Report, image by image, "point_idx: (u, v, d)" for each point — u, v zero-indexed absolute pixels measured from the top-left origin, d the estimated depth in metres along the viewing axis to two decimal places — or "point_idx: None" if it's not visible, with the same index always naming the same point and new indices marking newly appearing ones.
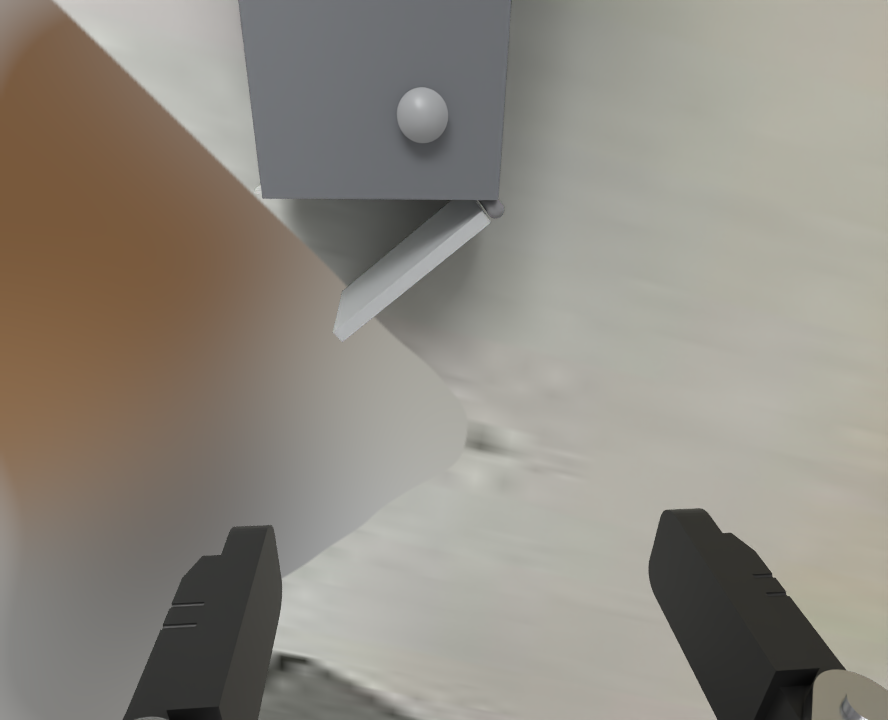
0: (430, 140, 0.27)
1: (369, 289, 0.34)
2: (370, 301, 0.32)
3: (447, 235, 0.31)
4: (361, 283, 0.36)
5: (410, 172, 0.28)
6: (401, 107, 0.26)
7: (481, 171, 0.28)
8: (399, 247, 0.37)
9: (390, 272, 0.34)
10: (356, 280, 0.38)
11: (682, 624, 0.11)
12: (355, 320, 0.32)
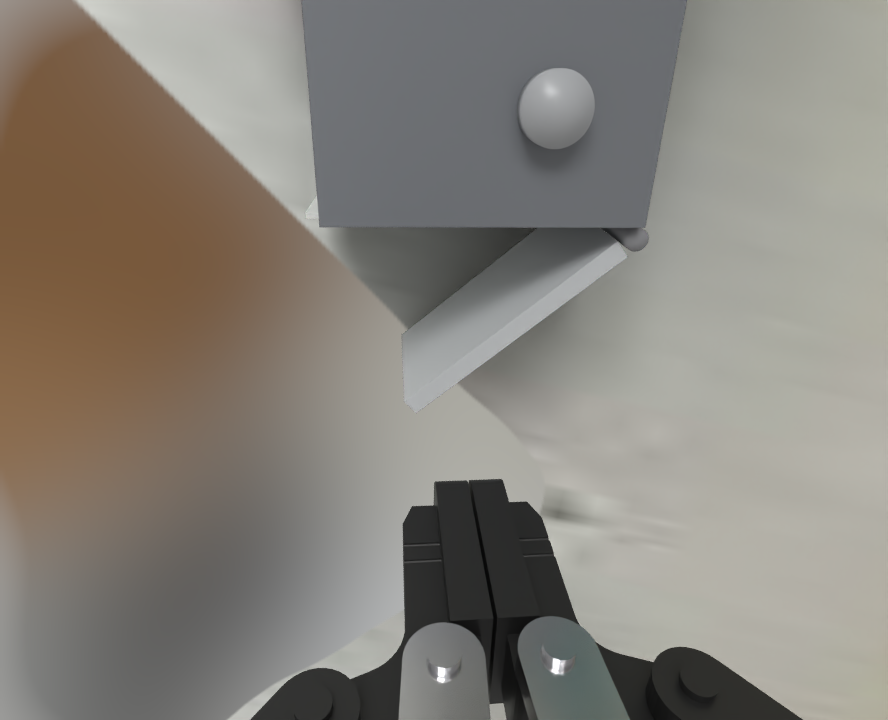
0: (565, 145, 0.19)
1: (448, 340, 0.26)
2: (457, 361, 0.24)
3: (564, 273, 0.23)
4: (430, 328, 0.28)
5: (528, 190, 0.20)
6: (528, 97, 0.18)
7: (626, 188, 0.20)
8: (479, 281, 0.28)
9: (477, 318, 0.25)
10: (420, 322, 0.30)
11: None
12: (435, 385, 0.24)
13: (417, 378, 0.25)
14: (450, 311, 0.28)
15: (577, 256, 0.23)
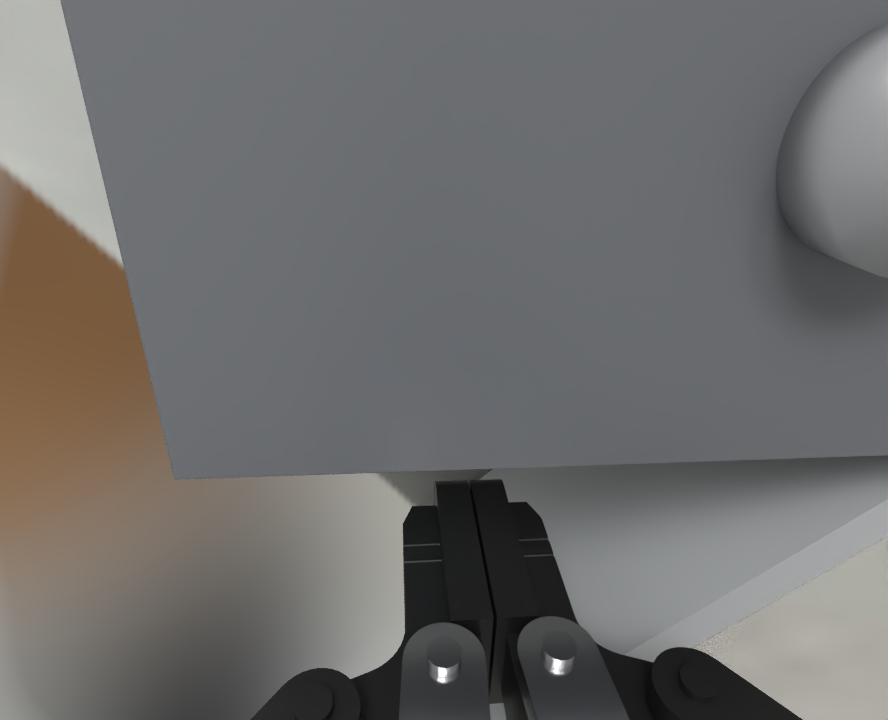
0: None
1: None
2: None
3: (786, 520, 0.10)
4: None
5: (769, 373, 0.07)
6: (869, 114, 0.05)
7: None
8: None
9: (566, 568, 0.12)
10: None
11: None
12: None
13: None
14: None
15: (808, 472, 0.10)
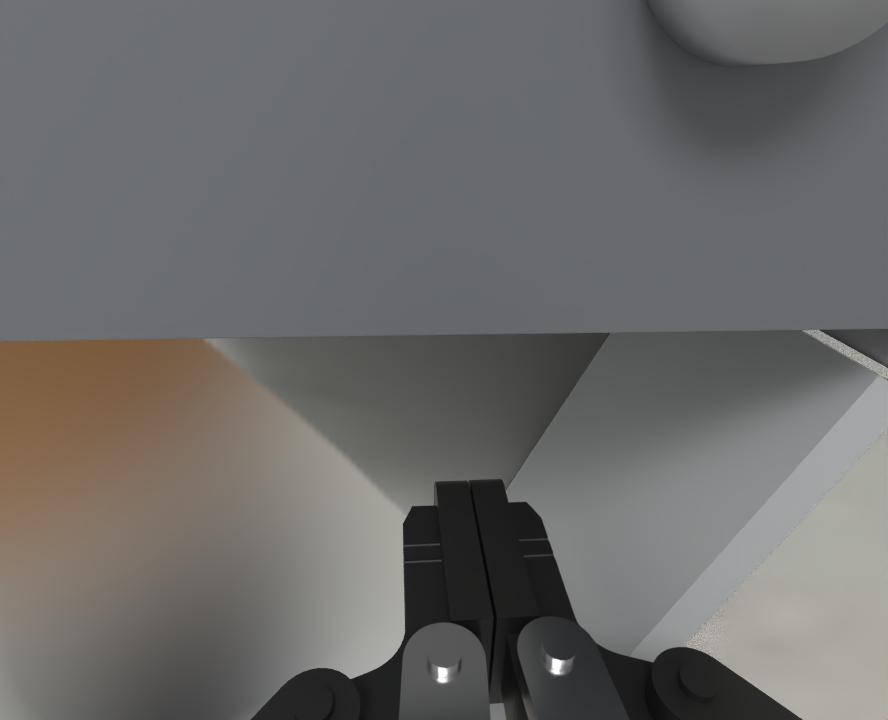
0: (835, 45, 0.05)
1: None
2: None
3: (748, 473, 0.09)
4: None
5: (654, 218, 0.06)
6: None
7: None
8: (555, 446, 0.15)
9: (580, 567, 0.12)
10: None
11: None
12: None
13: None
14: None
15: (761, 415, 0.09)
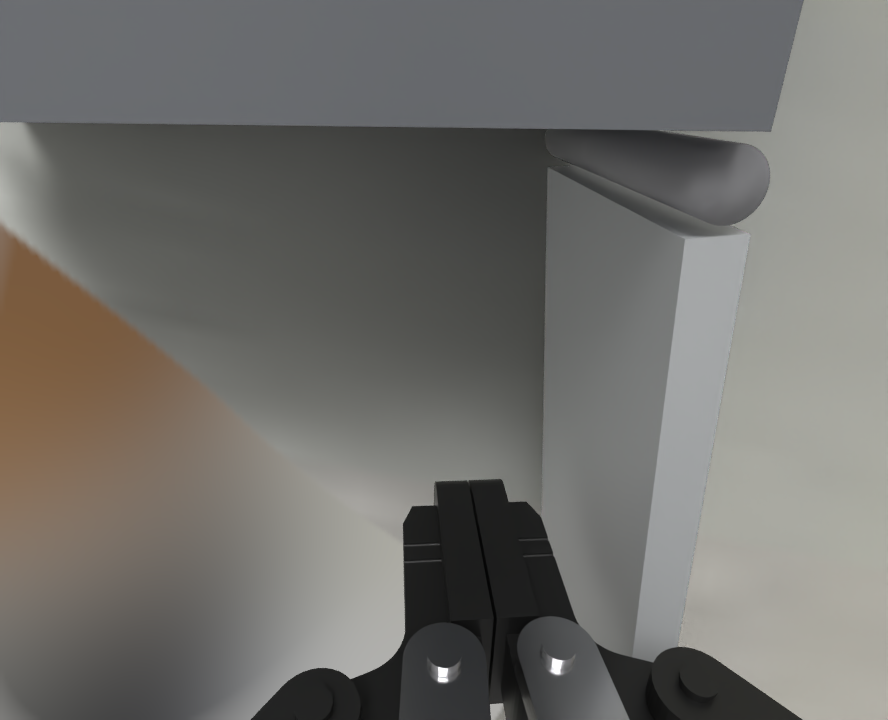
0: None
1: (589, 579, 0.12)
2: None
3: (646, 385, 0.08)
4: (558, 525, 0.15)
5: None
6: None
7: None
8: (552, 401, 0.15)
9: (594, 522, 0.12)
10: (544, 501, 0.17)
11: None
12: None
13: None
14: (558, 482, 0.15)
15: (637, 317, 0.08)
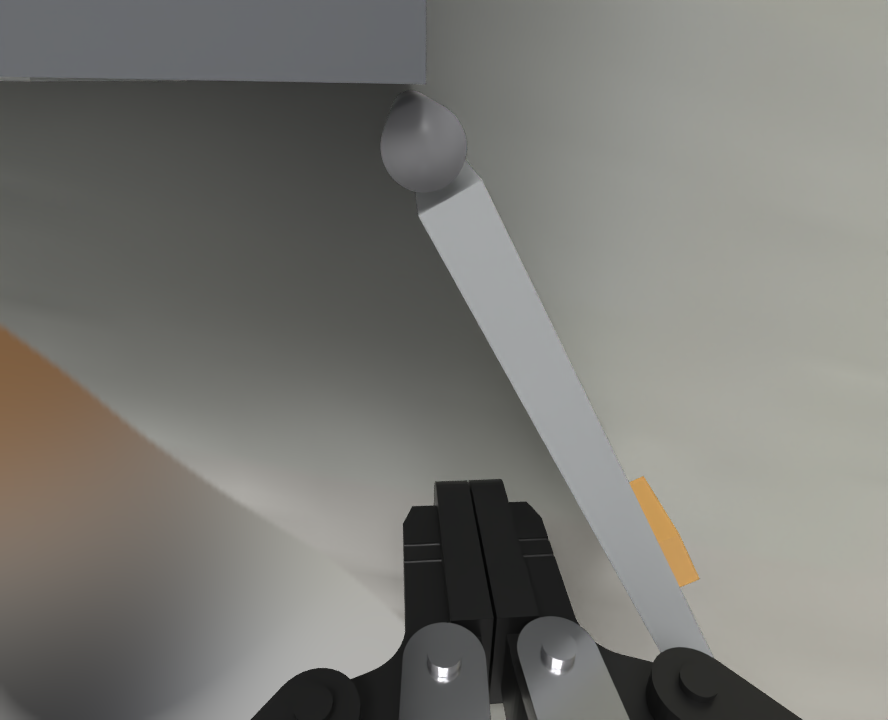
0: None
1: None
2: (644, 623, 0.10)
3: None
4: None
5: None
6: None
7: None
8: None
9: None
10: None
11: None
12: None
13: None
14: None
15: None
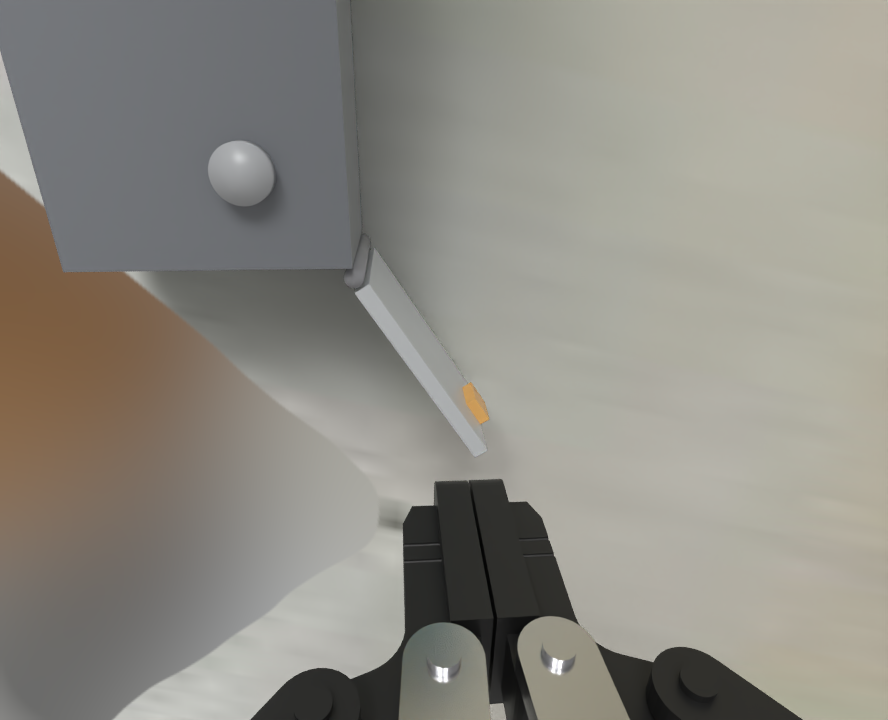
0: (253, 203, 0.22)
1: None
2: (445, 417, 0.29)
3: None
4: None
5: (240, 239, 0.23)
6: (212, 165, 0.21)
7: (326, 236, 0.24)
8: None
9: None
10: None
11: None
12: (465, 435, 0.29)
13: None
14: None
15: None
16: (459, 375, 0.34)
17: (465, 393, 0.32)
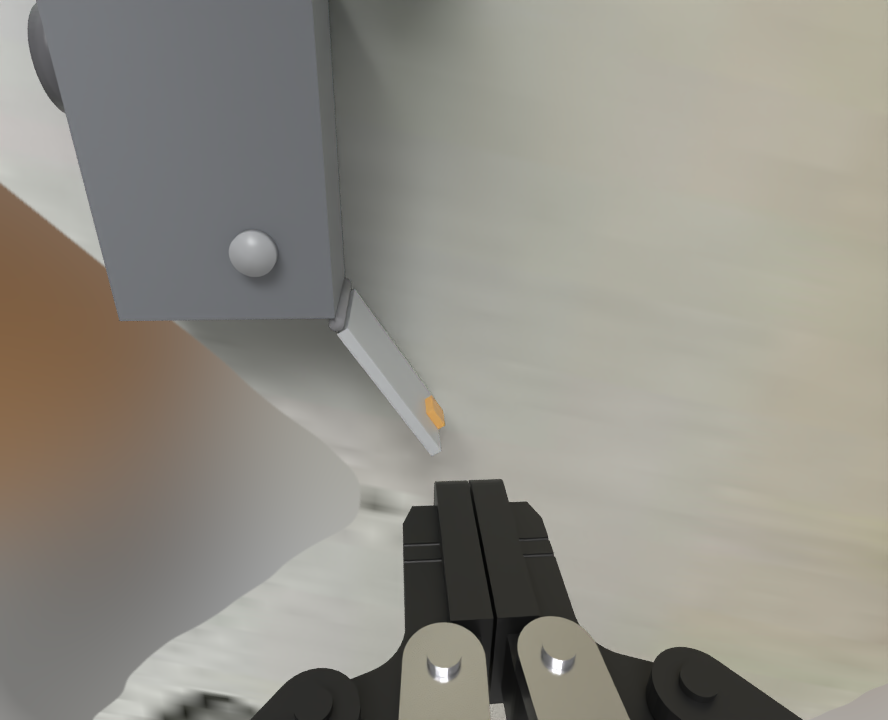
0: (261, 274, 0.30)
1: None
2: (408, 426, 0.37)
3: None
4: None
5: (251, 297, 0.32)
6: (231, 249, 0.30)
7: (315, 295, 0.32)
8: None
9: None
10: None
11: None
12: (423, 439, 0.38)
13: None
14: None
15: None
16: (423, 388, 0.43)
17: (426, 404, 0.41)
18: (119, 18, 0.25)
